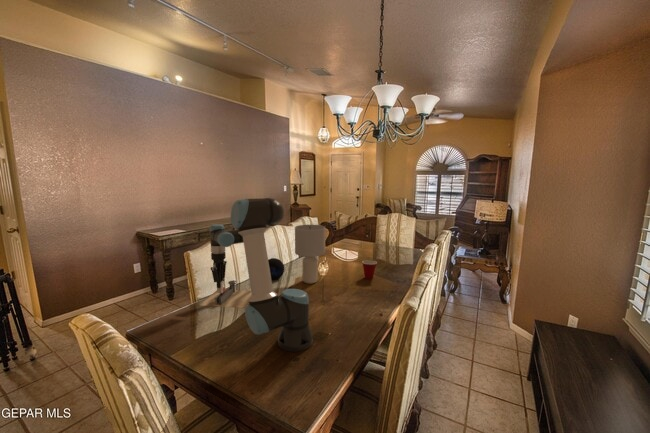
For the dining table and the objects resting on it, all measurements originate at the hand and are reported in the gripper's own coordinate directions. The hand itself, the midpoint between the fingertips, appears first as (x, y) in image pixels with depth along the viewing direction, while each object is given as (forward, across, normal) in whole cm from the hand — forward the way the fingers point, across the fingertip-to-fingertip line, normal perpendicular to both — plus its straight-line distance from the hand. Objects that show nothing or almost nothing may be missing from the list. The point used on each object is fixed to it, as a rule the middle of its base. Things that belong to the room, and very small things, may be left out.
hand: (220, 292), depth 160 cm
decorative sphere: (+7, -41, +16) cm, 45 cm away
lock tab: (+1, -2, 0) cm, 2 cm away
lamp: (+7, -42, +42) cm, 60 cm away
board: (+6, -5, +4) cm, 9 cm away
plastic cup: (+7, -58, +82) cm, 101 cm away
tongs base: (+5, -5, +1) cm, 7 cm away
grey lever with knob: (+5, -5, +1) cm, 7 cm away
